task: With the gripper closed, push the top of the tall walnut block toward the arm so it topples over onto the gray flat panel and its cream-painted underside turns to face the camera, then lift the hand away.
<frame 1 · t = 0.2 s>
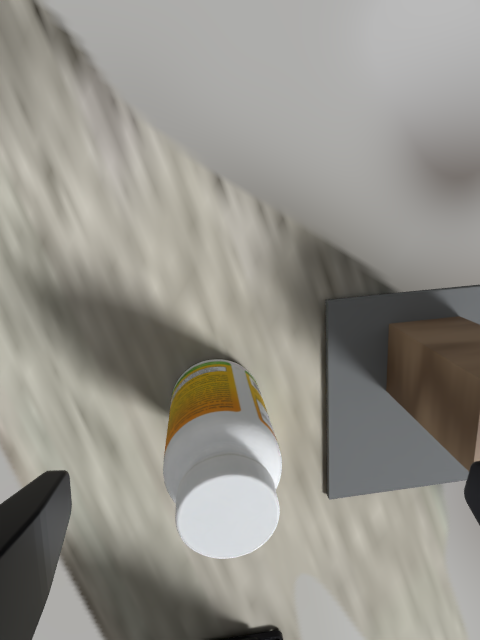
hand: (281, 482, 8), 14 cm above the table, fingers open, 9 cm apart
walnut block: (422, 354, 24), resting on gray flat panel
supplement bottle: (215, 395, 24), on the table
gray flat panel: (415, 394, 25), on the table
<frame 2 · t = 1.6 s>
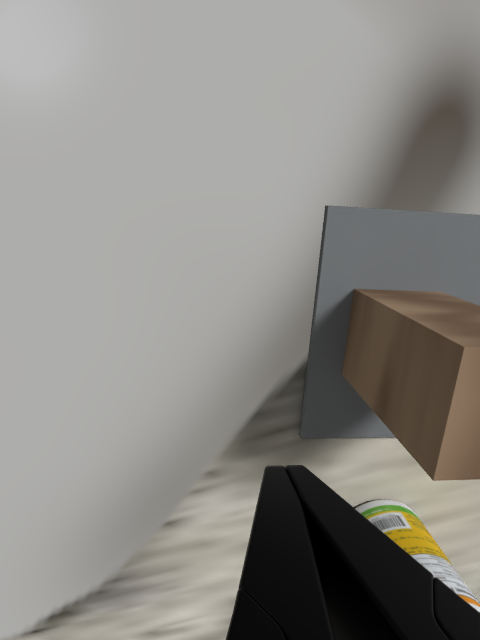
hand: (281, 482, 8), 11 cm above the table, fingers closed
walnut block: (390, 333, 19), resting on gray flat panel
supplement bottle: (373, 529, 24), on the table
gray flat panel: (440, 332, 20), on the table
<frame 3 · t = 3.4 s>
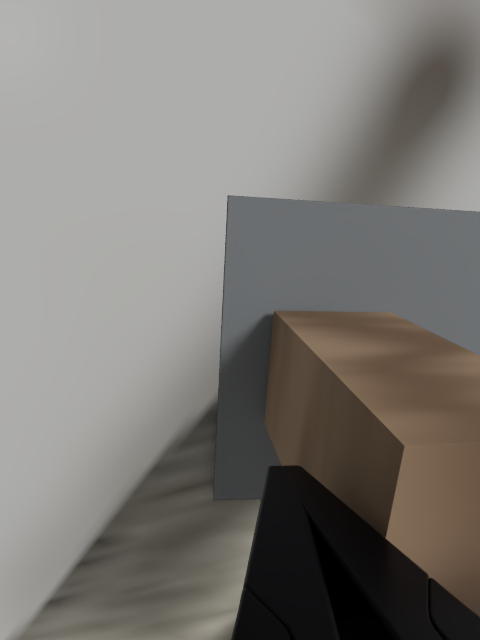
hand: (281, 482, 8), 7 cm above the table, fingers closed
walnut block: (326, 368, 15), point 1 cm above the table, touching gripper, gray flat panel
gray flat panel: (394, 364, 15), on the table
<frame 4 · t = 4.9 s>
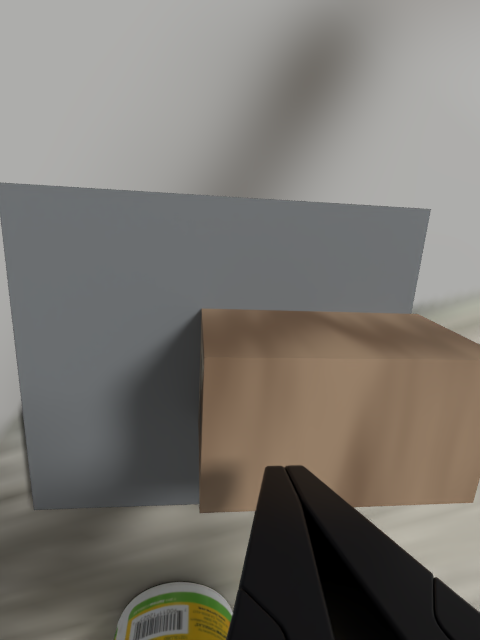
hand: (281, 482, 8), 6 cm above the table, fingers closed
walnut block: (200, 397, 12), point 3 cm above the table, tilted 90°, touching gray flat panel
supplement bottle: (177, 617, 18), on the table
gray flat panel: (219, 364, 14), on the table
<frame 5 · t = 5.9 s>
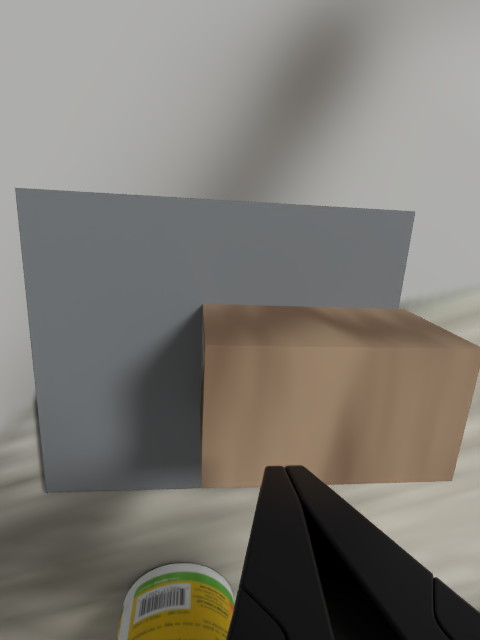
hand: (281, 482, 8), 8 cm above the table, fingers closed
walnut block: (202, 385, 13), point 3 cm above the table, tilted 90°, touching gray flat panel
supplement bottle: (179, 597, 19), on the table
gray flat panel: (219, 356, 16), on the table
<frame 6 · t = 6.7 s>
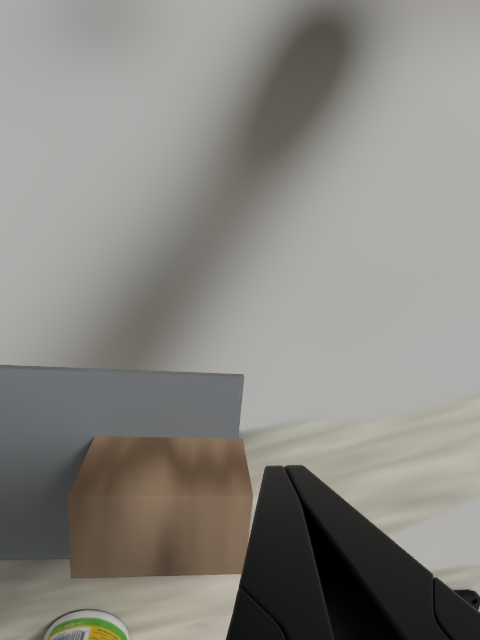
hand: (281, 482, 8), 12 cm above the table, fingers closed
walnut block: (83, 501, 19), point 3 cm above the table, tilted 90°, touching gray flat panel
supplement bottle: (89, 634, 25), on the table
gray flat panel: (111, 467, 22), on the table
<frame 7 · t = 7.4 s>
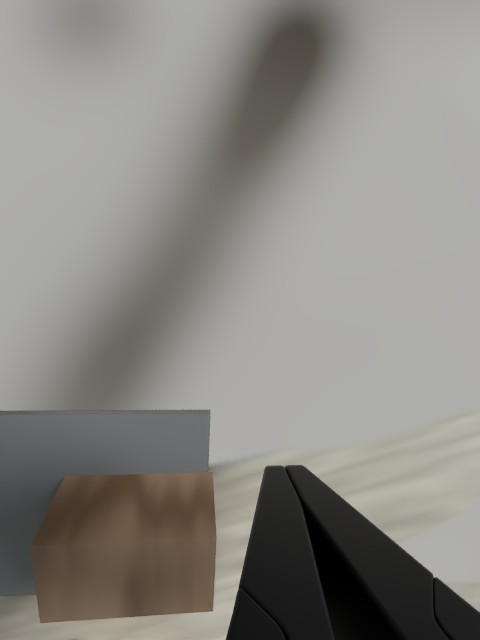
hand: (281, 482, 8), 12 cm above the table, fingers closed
walnut block: (53, 543, 19), point 3 cm above the table, tilted 90°, touching gray flat panel
gray flat panel: (83, 504, 22), on the table
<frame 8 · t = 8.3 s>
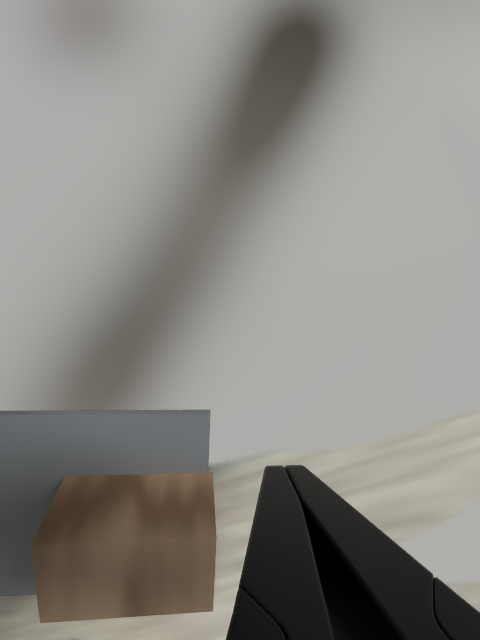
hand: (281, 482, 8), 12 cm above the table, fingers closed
walnut block: (53, 543, 19), point 3 cm above the table, tilted 90°, touching gray flat panel
gray flat panel: (83, 504, 22), on the table
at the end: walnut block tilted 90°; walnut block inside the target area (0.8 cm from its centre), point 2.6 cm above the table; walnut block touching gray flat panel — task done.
